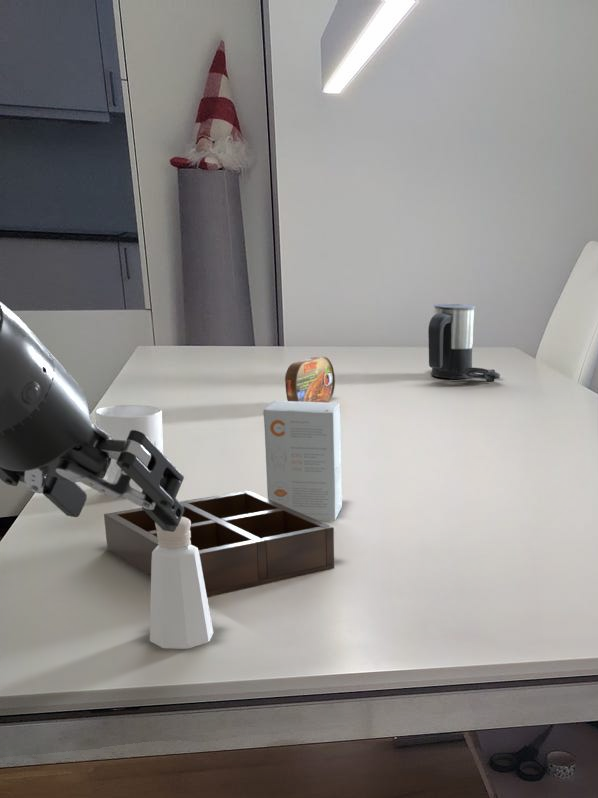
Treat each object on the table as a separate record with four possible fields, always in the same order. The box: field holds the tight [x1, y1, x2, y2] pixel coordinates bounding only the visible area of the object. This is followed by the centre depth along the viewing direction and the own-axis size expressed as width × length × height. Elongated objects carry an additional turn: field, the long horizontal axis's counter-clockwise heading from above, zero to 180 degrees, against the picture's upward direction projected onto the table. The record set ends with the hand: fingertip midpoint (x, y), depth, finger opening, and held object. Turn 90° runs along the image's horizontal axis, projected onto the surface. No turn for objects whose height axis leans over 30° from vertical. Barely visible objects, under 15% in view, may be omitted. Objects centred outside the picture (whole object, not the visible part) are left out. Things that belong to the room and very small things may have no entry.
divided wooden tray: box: [103, 490, 335, 598], centre depth 107 cm, size 17×17×4 cm
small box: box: [262, 400, 343, 522], centre depth 123 cm, size 8×6×13 cm
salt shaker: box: [149, 517, 214, 650], centre depth 86 cm, size 5×5×11 cm
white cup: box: [94, 404, 164, 492], centre depth 130 cm, size 8×8×10 cm
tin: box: [284, 356, 336, 403], centre depth 186 cm, size 15×3×8 cm, turn 161°
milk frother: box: [427, 303, 501, 383], centre depth 220 cm, size 14×16×15 cm
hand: (126, 513), depth 78 cm, fingers open, 8 cm apart
